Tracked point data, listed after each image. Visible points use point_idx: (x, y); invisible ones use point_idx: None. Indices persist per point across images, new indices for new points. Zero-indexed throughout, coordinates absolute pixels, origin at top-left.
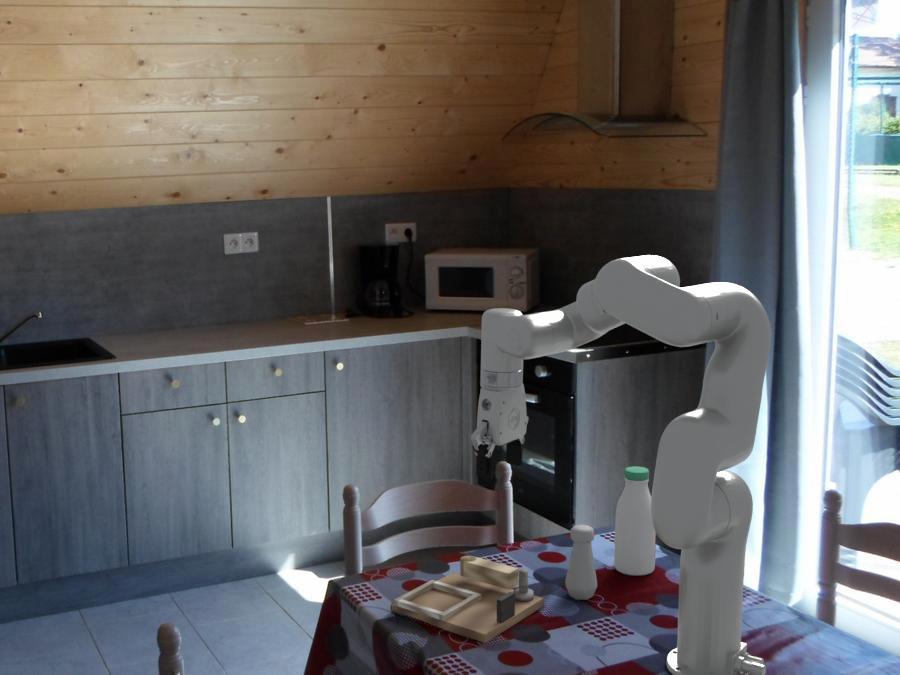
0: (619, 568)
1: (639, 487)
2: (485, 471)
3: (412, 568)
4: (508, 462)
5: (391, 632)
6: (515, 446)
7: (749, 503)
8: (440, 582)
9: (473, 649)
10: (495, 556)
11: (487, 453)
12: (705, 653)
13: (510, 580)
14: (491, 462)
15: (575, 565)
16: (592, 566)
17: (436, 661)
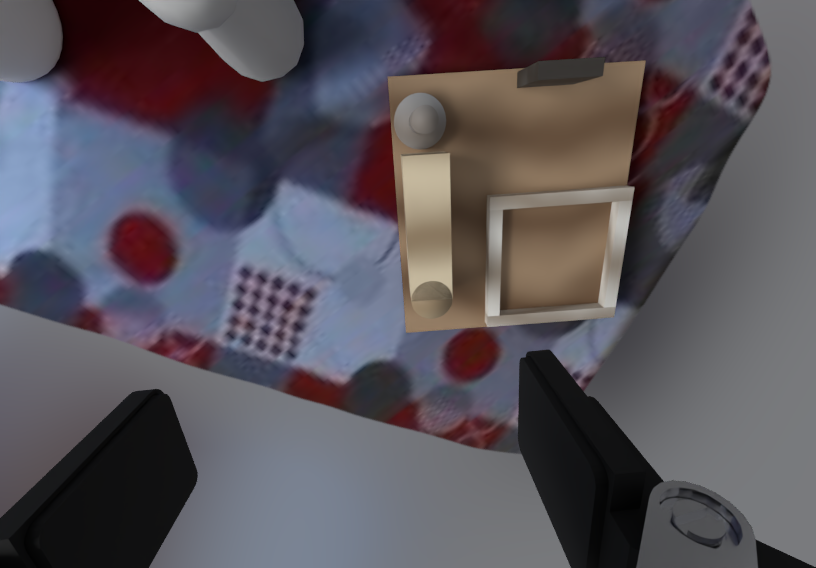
0: (56, 35)
1: None
2: (597, 405)
3: (411, 409)
4: (192, 467)
5: (672, 253)
6: (72, 558)
7: None
8: (489, 306)
9: (671, 66)
10: (246, 340)
11: (749, 536)
12: None
13: (440, 152)
14: (612, 432)
15: (272, 8)
16: None
17: (753, 94)
